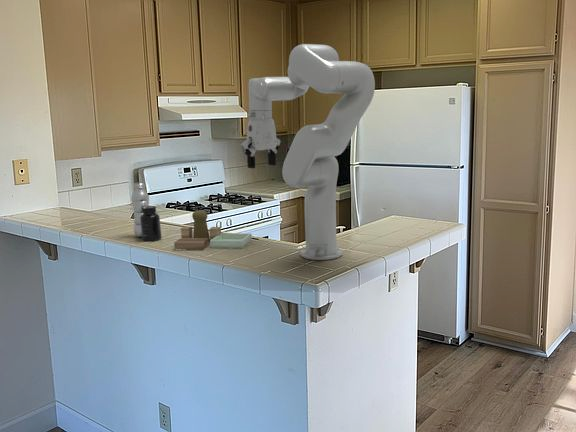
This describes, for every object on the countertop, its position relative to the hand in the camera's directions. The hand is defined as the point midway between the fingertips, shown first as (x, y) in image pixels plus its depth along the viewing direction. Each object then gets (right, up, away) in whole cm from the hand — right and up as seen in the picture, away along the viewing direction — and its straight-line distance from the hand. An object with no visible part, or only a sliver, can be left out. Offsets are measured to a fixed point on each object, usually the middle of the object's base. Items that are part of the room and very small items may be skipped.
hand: (261, 166), depth 195 cm
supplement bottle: (-40, -26, +11) cm, 49 cm away
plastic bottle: (-45, -25, +17) cm, 54 cm away
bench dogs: (-21, -26, +5) cm, 34 cm away
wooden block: (-23, -28, -4) cm, 37 cm away
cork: (-21, -26, +5) cm, 34 cm away
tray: (-10, -27, 0) cm, 29 cm away
